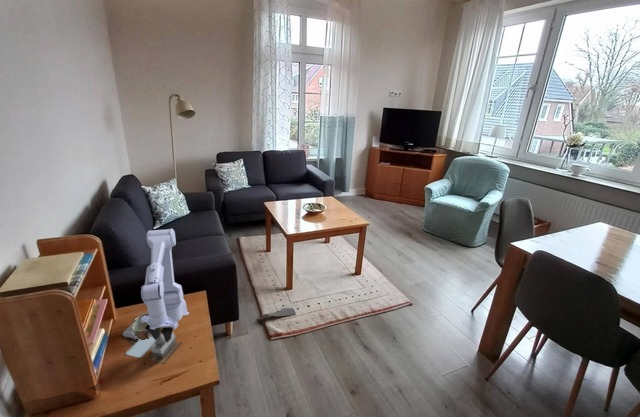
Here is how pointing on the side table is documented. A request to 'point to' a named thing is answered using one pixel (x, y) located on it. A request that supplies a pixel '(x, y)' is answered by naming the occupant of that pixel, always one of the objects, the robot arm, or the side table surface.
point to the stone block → (130, 333)
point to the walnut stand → (168, 354)
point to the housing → (162, 345)
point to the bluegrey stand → (140, 347)
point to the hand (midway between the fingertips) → (162, 339)
